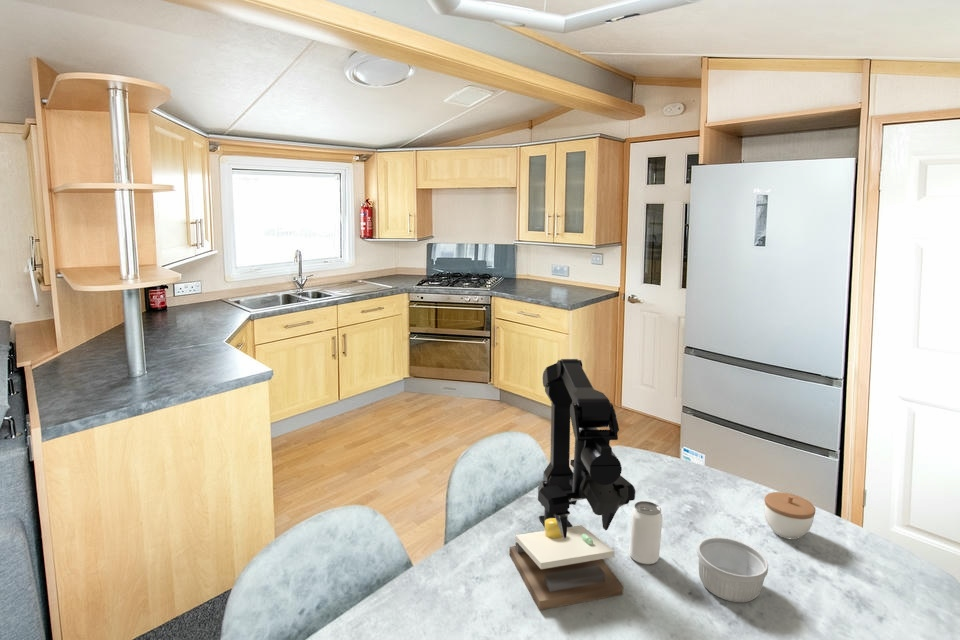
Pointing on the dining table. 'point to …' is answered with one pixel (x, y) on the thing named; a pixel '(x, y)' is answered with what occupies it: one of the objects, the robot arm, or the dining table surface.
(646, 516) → the can
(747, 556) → the ramekin
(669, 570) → the dining table surface
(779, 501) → the lidded jar
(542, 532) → the plate
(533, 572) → the walnut base
